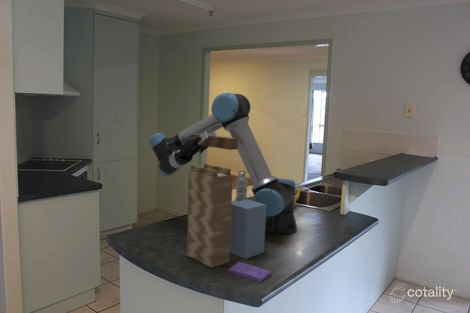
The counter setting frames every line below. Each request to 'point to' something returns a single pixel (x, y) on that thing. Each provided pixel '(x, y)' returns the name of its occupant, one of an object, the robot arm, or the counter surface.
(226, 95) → the robot arm
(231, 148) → the walnut bar
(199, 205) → the oak post
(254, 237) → the blue step
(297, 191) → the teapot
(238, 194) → the plastic bottle
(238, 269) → the sponges
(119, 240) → the counter surface
